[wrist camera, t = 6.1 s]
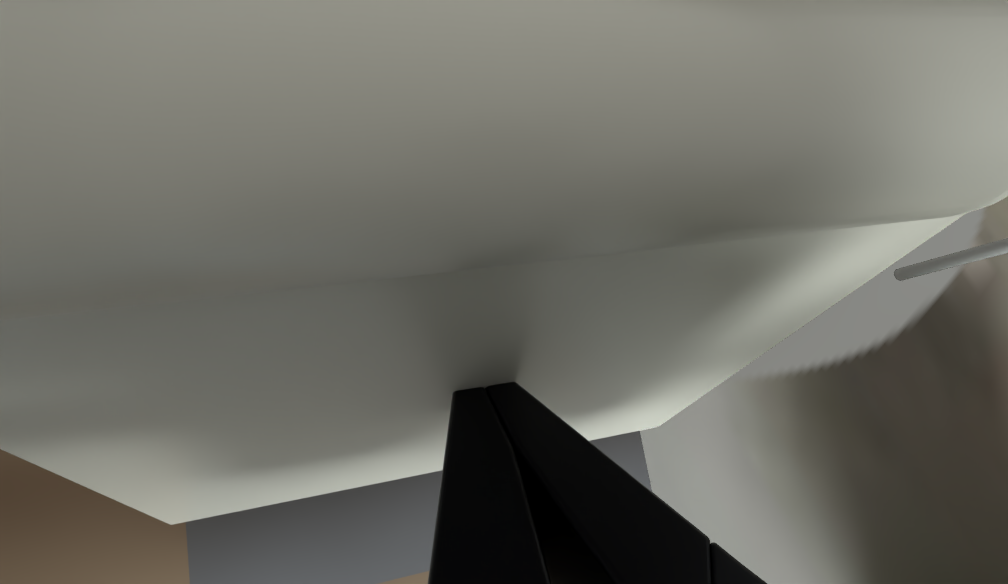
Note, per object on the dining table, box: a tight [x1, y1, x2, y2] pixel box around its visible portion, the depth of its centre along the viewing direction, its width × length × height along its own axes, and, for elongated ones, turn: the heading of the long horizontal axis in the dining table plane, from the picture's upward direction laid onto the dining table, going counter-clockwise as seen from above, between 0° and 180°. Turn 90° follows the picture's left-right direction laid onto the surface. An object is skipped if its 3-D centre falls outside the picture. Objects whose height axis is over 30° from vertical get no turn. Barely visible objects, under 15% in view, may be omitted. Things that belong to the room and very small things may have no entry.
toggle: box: [0, 0, 1008, 525], centre depth 8 cm, size 2×10×10 cm, turn 99°
